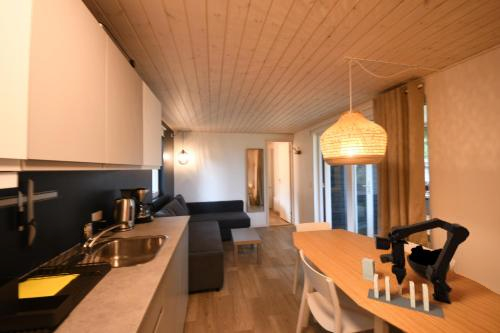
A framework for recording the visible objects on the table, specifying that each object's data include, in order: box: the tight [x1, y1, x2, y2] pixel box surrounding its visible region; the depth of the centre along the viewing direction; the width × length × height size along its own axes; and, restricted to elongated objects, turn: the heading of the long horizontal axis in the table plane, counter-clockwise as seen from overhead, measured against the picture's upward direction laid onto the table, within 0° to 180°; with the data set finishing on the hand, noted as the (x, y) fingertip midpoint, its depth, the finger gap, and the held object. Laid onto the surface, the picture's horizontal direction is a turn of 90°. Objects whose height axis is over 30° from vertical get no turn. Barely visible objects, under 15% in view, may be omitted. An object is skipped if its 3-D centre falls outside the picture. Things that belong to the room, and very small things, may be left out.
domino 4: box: [409, 280, 416, 308], centre depth 104 cm, size 5×2×10 cm, turn 146°
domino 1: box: [373, 273, 380, 298], centre depth 112 cm, size 5×2×10 cm, turn 146°
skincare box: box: [361, 257, 376, 283], centre depth 128 cm, size 6×4×12 cm
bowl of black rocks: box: [405, 244, 451, 279], centre depth 129 cm, size 20×20×19 cm
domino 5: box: [422, 283, 430, 311], centre depth 101 cm, size 5×2×10 cm, turn 146°
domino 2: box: [384, 275, 391, 301], centre depth 110 cm, size 5×2×10 cm, turn 146°
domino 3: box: [397, 283, 403, 296], centre depth 114 cm, size 5×2×10 cm, turn 146°
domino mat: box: [366, 288, 446, 320], centre depth 106 cm, size 10×30×1 cm, turn 56°
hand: (399, 280), depth 114 cm, fingers open, 9 cm apart
